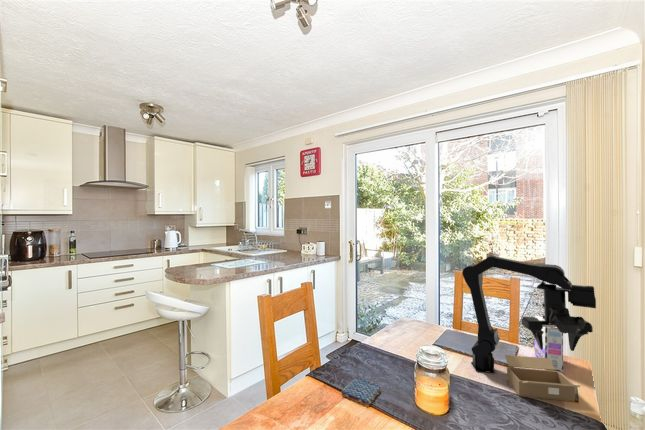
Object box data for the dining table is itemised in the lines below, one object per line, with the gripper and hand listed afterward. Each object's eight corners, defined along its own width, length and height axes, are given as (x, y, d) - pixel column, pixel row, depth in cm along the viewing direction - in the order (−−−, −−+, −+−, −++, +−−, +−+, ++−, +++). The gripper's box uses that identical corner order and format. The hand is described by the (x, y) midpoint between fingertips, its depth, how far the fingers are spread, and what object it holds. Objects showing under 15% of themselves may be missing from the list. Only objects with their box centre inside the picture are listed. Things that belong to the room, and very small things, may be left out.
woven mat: (339, 397, 98) (339, 390, 98) (355, 382, 106) (355, 376, 106) (368, 409, 92) (368, 402, 92) (382, 392, 100) (382, 386, 100)
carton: (519, 396, 97) (519, 381, 97) (507, 381, 106) (507, 366, 106) (576, 402, 94) (576, 386, 94) (559, 385, 103) (559, 371, 103)
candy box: (564, 372, 111) (564, 328, 111) (545, 369, 113) (545, 326, 113) (550, 356, 124) (550, 316, 124) (533, 353, 126) (533, 315, 126)
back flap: (554, 369, 103) (554, 370, 103) (549, 358, 106) (549, 358, 107) (509, 366, 106) (508, 366, 106) (505, 355, 109) (504, 355, 109)
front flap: (522, 381, 96) (522, 382, 96) (527, 380, 93) (527, 382, 93) (572, 385, 94) (573, 387, 93) (580, 385, 90) (580, 386, 90)
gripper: (536, 309, 94) (538, 359, 94) (604, 311, 91) (606, 362, 90) (519, 300, 105) (521, 344, 105) (579, 301, 102) (581, 347, 101)
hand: (556, 349), depth 100 cm, fingers open, 9 cm apart
